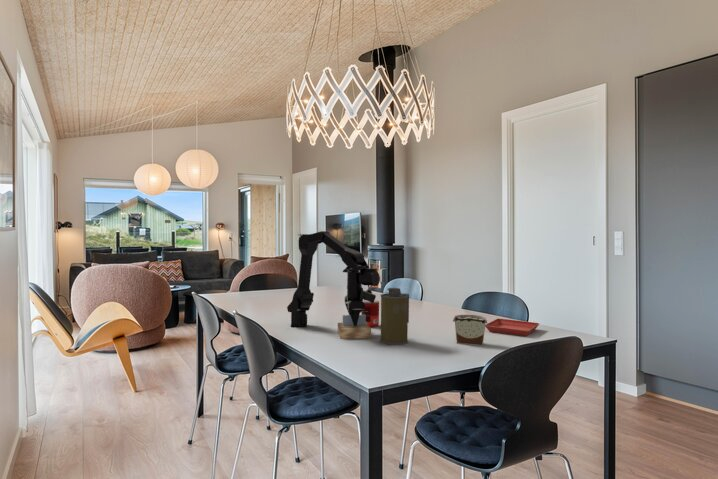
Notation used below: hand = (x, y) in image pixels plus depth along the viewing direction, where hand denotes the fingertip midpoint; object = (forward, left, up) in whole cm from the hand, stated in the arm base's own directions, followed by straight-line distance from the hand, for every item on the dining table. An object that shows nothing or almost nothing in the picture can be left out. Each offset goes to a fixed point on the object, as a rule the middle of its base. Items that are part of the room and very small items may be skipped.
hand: (354, 323), depth 187 cm
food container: (+42, -16, -5) cm, 45 cm away
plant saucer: (+67, +3, -5) cm, 67 cm away
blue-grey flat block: (0, 0, -4) cm, 4 cm away
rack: (0, 0, -4) cm, 4 cm away
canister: (+14, -12, -5) cm, 19 cm away
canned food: (+9, +18, -5) cm, 21 cm away
